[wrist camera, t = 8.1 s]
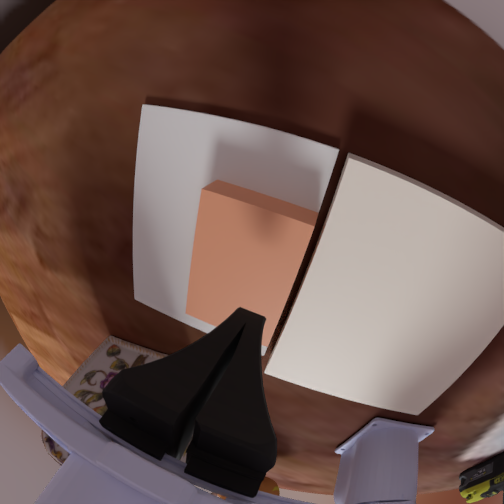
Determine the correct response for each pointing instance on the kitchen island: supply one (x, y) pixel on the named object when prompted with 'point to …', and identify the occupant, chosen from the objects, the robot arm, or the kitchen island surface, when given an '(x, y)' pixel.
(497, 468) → the power drill
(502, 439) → the kitchen island surface
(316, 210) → the mat
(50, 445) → the floral ceramic jar
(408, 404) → the white flat slab
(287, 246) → the pink flat block
